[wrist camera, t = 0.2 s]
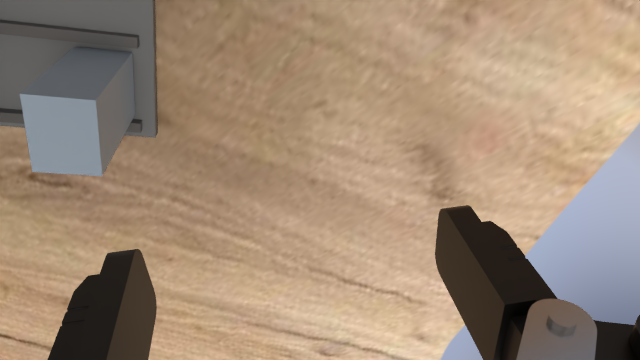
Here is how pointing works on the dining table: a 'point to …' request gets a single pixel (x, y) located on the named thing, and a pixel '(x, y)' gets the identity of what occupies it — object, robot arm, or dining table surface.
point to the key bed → (81, 31)
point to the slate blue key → (79, 111)
